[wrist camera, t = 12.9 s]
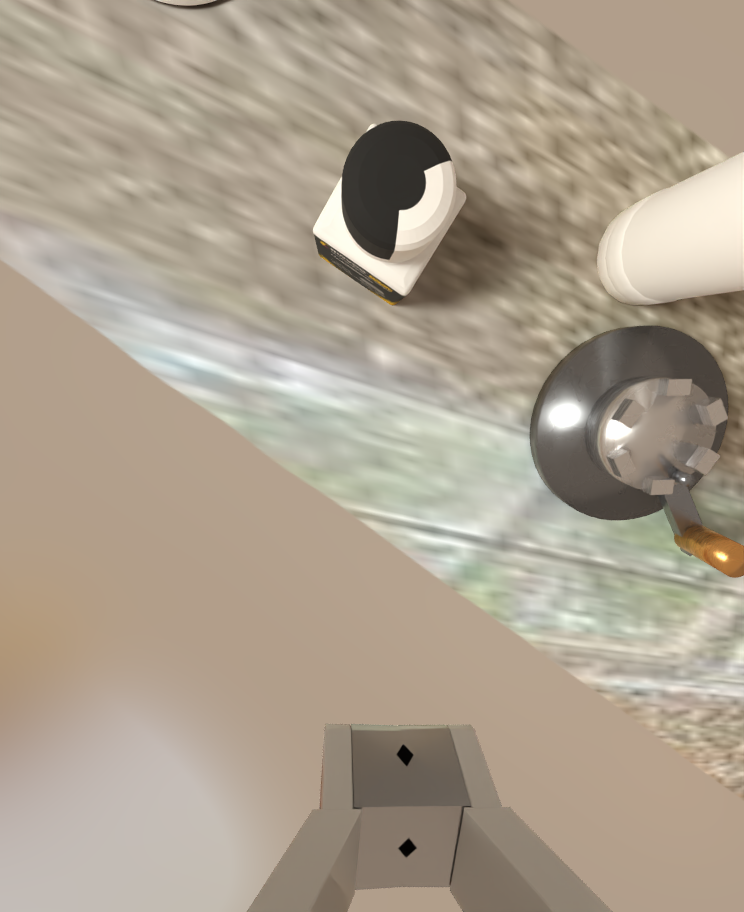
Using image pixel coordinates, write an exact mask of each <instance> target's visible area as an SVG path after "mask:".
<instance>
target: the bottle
mask: <svg viewBox="0 0 744 912" xmlns="http://www.w3.org/2000/svg"><path fill="white" fill-rule="evenodd" d="M597 266H598V272H599V278H600V280H601V282H602V284H603V285H604V287H605V289H606V291H607V292H608V293H609V294H610V295H611V296H613V297H614V298H615V299H616V300H618V301H619V302H622V303H626V304H630V305H642V304H643V305H651V304H659V303H667V302H673V301H677V300H679V299H685V298H692V297H699V296H706V295H713V294H720V293H727V292H735V291H742V290H744V152H742V153H740V154H737V155H736V156H733V157H731V158H729V159H727V160H725V161H723V162H721V163H719V164H717V165H715V166H713V167H711V168H709V169H707V170H704V171H702V172H700V173H698V174H696V175H694V176H692V177H690V178H688V179H686V180H684V181H682V182H680V183H678V184H676V185H674V186H672V187H669V188H667V189H662V190H660V191H658V192H656V193H654V194H652V195H650V196H648V197H646V198H644V199H642V200H640V201H639V202H637V203H635V204H633V205H632V206H631V207H629V208H627V209H625V210H623V211H621V212H620V213H619V214H618V215H617V217H616V218H615V219H614V220H613V221H612V222H611V223H610V224H609V225H608V227H607V229H606V231H605V233H604V235H603V237H602V239H601V241H600V244H599V250H598V256H597Z"/></svg>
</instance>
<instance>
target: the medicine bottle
mask: <svg viewBox="0 0 744 912" xmlns="http://www.w3.org/2000/svg"><path fill="white" fill-rule="evenodd" d="M465 201H466V194H465V193H464V192H463V191H462V190H461V189H459V188H458V187H457V186H456V175H455V169H454V166H453V162H452V160H451V158H450V155H449V153H448V151H447V150H446V148H445V146H444V145H443V144H442V142H441V141H440V140H439V139H438V138H437V137H436V136H435V135H434V134H433V133H432V132H430V131H429V130H427V129H426V128H424V127H422V126H420V125H418V124H415V123H412V122H407V121H390V122H385V123H382V124H380V125H377V124H372V125H371V126H370V127H369V128H368V130H367V132H366V133H365V134H363V135H362V136H361V137H360V138H359V139H358V141H357V142H356V143H355V144H354V146H353V147H352V149H351V151H350V153H349V155H348V157H347V159H346V162H345V165H344V169H343V174H342V177H341V179H340V180H339V182H338V184H337V186H336V188H335V189H334V191H333V193H332V195H331V197H330V198H329V200H328V202H327V204H326V206H325V207H324V209H323V211H322V213H321V215H320V217H319V218H318V220H317V222H316V224H315V226H314V228H313V232H314V236H315V240H316V245H317V249H318V253H319V256H320V257H321V258H323V259H324V260H326V261H327V262H329V263H330V264H332V265H333V266H335V267H336V268H338V269H339V270H340V271H342V272H343V273H345V274H346V275H348V276H349V277H351V278H352V279H354V280H355V281H357V282H358V283H359V284H361V285H362V286H364V287H365V288H367V289H368V290H370V291H371V292H373V293H374V294H376V295H377V296H378V297H380V298H381V299H383V300H384V301H386V302H387V303H389V304H390V305H395V304H396V303H398V302H399V301H400V300H401V299H403V298H404V297H405V296H407V295H408V294H409V293H410V291H411V289H412V288H413V286H414V284H415V283H416V281H417V279H418V278H419V276H420V275H421V273H422V271H423V270H424V268H425V266H426V265H427V263H428V262H429V260H430V258H431V257H432V255H433V253H434V252H435V250H436V248H437V247H438V245H439V244H440V242H441V240H442V239H443V237H444V235H445V234H446V232H447V231H448V229H449V227H450V226H451V224H452V222H453V221H454V219H455V217H456V216H457V214H458V213H459V211H460V209H461V208H462V206H463V204H464V203H465Z"/></svg>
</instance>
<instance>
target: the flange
mask: <svg viewBox="0 0 744 912" xmlns="http://www.w3.org/2000/svg"><path fill="white" fill-rule="evenodd" d="M636 376H654V377H665V378H686V379H692V383H693V384H695V385H697V386H698V387H699V388H701V389H702V390H703V391H704V392H705V393H706V394H707V396H708V397H715V398H721V400H722V403H723V406H724V408H725V411H726V414H727V417H728V396H727V390H726V384H725V381H724V378H723V375H722V372H721V370H720V368H719V366H718V364H717V362H716V361H715V360H714V358H713V357H712V355H711V354H710V353H709V352H708V351H707V350H706V349H705V347H704V346H703V345H702V344H700V343H699V342H697V341H696V340H695V339H693V338H692V337H690V336H688V335H686V334H684V333H682V332H680V331H677V330H674V329H671V328H666V327H660V326H633V327H625V328H618V329H614V330H610V331H607V332H604V333H602V334H599V335H597V336H594V337H592V338H591V339H589V340H587V341H585V342H583V343H582V344H581V345H579V346H578V347H576V348H575V349H574V350H572V351H571V352H570V353H569V354H568V355H567V356H566V357H565V358H563V359H562V360H561V361H560V363H559V364H558V365H557V366H556V367H555V369H554V370H553V371H552V372H551V374H550V375H549V377H548V378H547V380H546V381H545V383H544V385H543V387H542V389H541V391H540V393H539V395H538V398H537V400H536V403H535V406H534V409H533V414H532V418H531V426H530V446H531V452H532V457H533V460H534V464H535V467H536V469H537V471H538V473H539V475H540V477H541V479H542V480H543V482H544V483H545V485H546V486H547V487H548V488H549V489H550V490H551V491H552V493H553V494H555V495H556V496H557V497H558V498H559V499H561V500H562V501H563V502H565V503H566V504H568V505H569V506H571V507H572V508H574V509H576V510H577V511H579V512H581V513H584V514H586V515H588V516H592V517H595V518H599V519H606V520H627V519H635V518H639V517H643V516H646V515H649V514H652V513H654V512H657V511H659V510H661V509H663V507H662V504H661V502H660V500H659V497H658V495H650V494H648V493H645V492H643V491H642V490H641V489H637V488H634V487H632V486H629V485H627V484H625V483H623V482H621V481H619V480H617V479H615V478H613V477H611V476H609V475H607V474H605V473H603V472H602V471H600V470H599V469H598V468H597V467H596V466H595V465H594V463H593V462H592V461H591V459H590V457H589V455H588V452H587V449H586V445H585V428H586V423H587V420H588V417H589V414H590V412H591V410H592V408H593V406H594V405H595V403H596V402H597V401H598V399H599V398H600V397H601V396H602V395H603V394H604V393H605V392H606V391H607V390H608V389H609V388H611V387H612V386H614V385H615V384H617V383H619V382H621V381H623V380H625V379H628V378H632V377H636ZM726 424H727V419H726V420H725V421H723V422H721V423H719V424H718V425H716V432H715V438H714V441H713V444H712V447H711V450H712V451H714V452H715V453H717V452H718V450H719V448H720V445H721V442H722V440H723V437H724V433H725V429H726ZM691 475H693V476H694V477H695V483H694V484H693V485H692V486H691V487H688V490H690V489H691V488H692V487H693V486H694V485H695V484H696V483H697V482H698V481H699V480H700V479H701V477H702V476H703V475H704V474H701V473H698V472H694V473H693V474H691Z"/></svg>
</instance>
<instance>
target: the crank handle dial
mask: <svg viewBox="0 0 744 912" xmlns="http://www.w3.org/2000/svg"><path fill="white" fill-rule="evenodd" d="M726 419H728V417H727V414H726V411H725V408H724V406H723V403H722V400H721V398H715V397H708V396H707V394H706V393H705V392H704V391H703V390H702V389H701V388H699V387H698V386H697V385H695V384H693V383H692V379H686V378H665V377H654V376H636V377H632V378H628V379H625V380H623V381H621V382H619V383H617V384H615V385H614V386H612V387H611V388H609V389H608V390H607V391H606V392H605V393H604V394H603V395H602V396H601V397H600V398H599V399H598V401H597V402H596V403H595V405H594V406H593V408H592V410H591V412H590V414H589V417H588V420H587V423H586V428H585V445H586V449H587V452H588V455H589V457H590V459H591V461H592V462H593V463H594V465H595V466H596V467H597V468H598V469H599V470H600V471H602V472H603V473H605V474H607V475H609V476H611V477H613V478H615V479H617V480H619V481H621V482H623V483H625V484H627V485H629V486H632V487H634V488H637V489H641V490H642V491H643V492H645V493H648V494H650V495H658V497H659V500H660V502H661V504H662V507H663V509H664V511H665V514H666V516H667V518H668V521H669V523H670V526H671V528H672V530H673V533H674V535H675V536H674V540H675V543H676V544H677V546H679V547H680V549H681V551H682V552H684V553H686V554H687V555H689V556H691V555H694V556H695V557H697V558H699V559H701V560H702V561H704V562H706V563H707V564H709V565H711V566H712V567H714V568H716V569H717V570H719V571H721V572H723V573H724V574H726V575H728V576H730V577H734V578H736V577H741V576H743V575H744V546H743V545H741V544H739V543H737V542H735V541H733V540H731V539H729V538H727V537H725V536H723V535H721V534H719V533H717V532H714V531H712V530H710V529H708V528H706V527H704V526H703V525H702V522H701V520H700V517H699V515H698V512H697V510H696V507H695V505H694V502H693V500H692V497H691V495H690V492H689V490H688V487H691V486H692V485H693V484H694V483H695V477H694V476H693V475H691V474H693V473H694V472H698V473H701V474H704V475H707V474H708V472H709V471H710V470H711V468H712V467H713V466H714V464H715V463H716V462H717V460H718V459H719V458H720V455H718V454H717V453H715V452H714V451H712V450H711V447H712V444H713V441H714V438H715V432H716V425H718V424H719V423H721V422H723V421H725V420H726Z"/></svg>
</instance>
